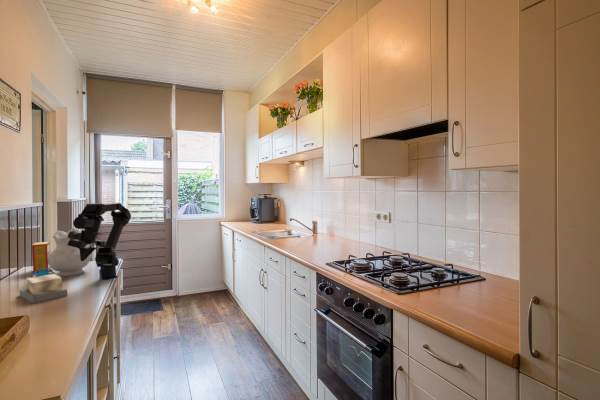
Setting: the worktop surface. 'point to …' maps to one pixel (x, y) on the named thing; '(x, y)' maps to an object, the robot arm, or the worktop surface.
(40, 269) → the gear
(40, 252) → the baking soda box
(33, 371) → the worktop surface
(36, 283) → the oak block
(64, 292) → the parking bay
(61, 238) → the ceramic pitcher
